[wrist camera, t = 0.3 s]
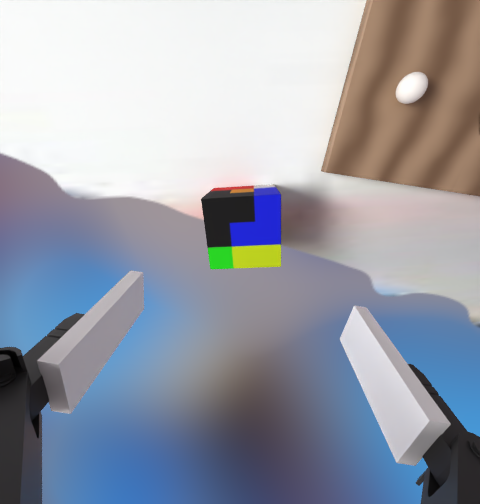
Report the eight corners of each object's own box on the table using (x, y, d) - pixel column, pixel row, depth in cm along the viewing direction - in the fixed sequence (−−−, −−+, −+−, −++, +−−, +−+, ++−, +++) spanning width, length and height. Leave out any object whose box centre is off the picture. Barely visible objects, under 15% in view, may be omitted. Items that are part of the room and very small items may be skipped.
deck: (321, 171, 36) (325, 172, 34) (372, -21, 28) (383, -37, 25) (507, 200, 37) (524, 203, 34) (615, 19, 28) (648, 6, 26)
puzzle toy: (274, 184, 38) (280, 194, 28) (274, 241, 41) (280, 266, 32) (213, 188, 38) (201, 198, 29) (219, 244, 42) (210, 269, 33)
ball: (396, 74, 29) (412, 65, 26) (421, 78, 29) (440, 70, 26) (386, 104, 30) (400, 98, 27) (410, 107, 30) (427, 102, 27)
